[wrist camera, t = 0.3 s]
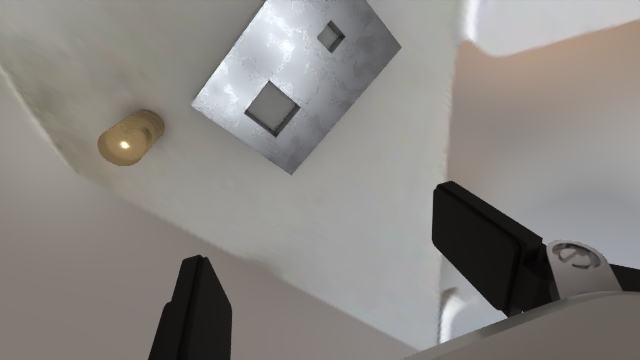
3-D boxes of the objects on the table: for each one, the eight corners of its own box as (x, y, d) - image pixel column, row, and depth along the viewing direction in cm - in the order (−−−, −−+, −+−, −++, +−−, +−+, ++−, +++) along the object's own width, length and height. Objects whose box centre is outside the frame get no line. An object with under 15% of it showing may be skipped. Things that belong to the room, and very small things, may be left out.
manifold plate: (193, 101, 40) (190, 105, 37) (309, -58, 35) (315, -66, 33) (288, 168, 48) (291, 175, 46) (392, 47, 44) (401, 47, 41)
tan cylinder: (123, 127, 39) (89, 151, 30) (139, 103, 38) (110, 121, 30) (154, 145, 41) (130, 172, 32) (170, 122, 40) (150, 144, 32)
